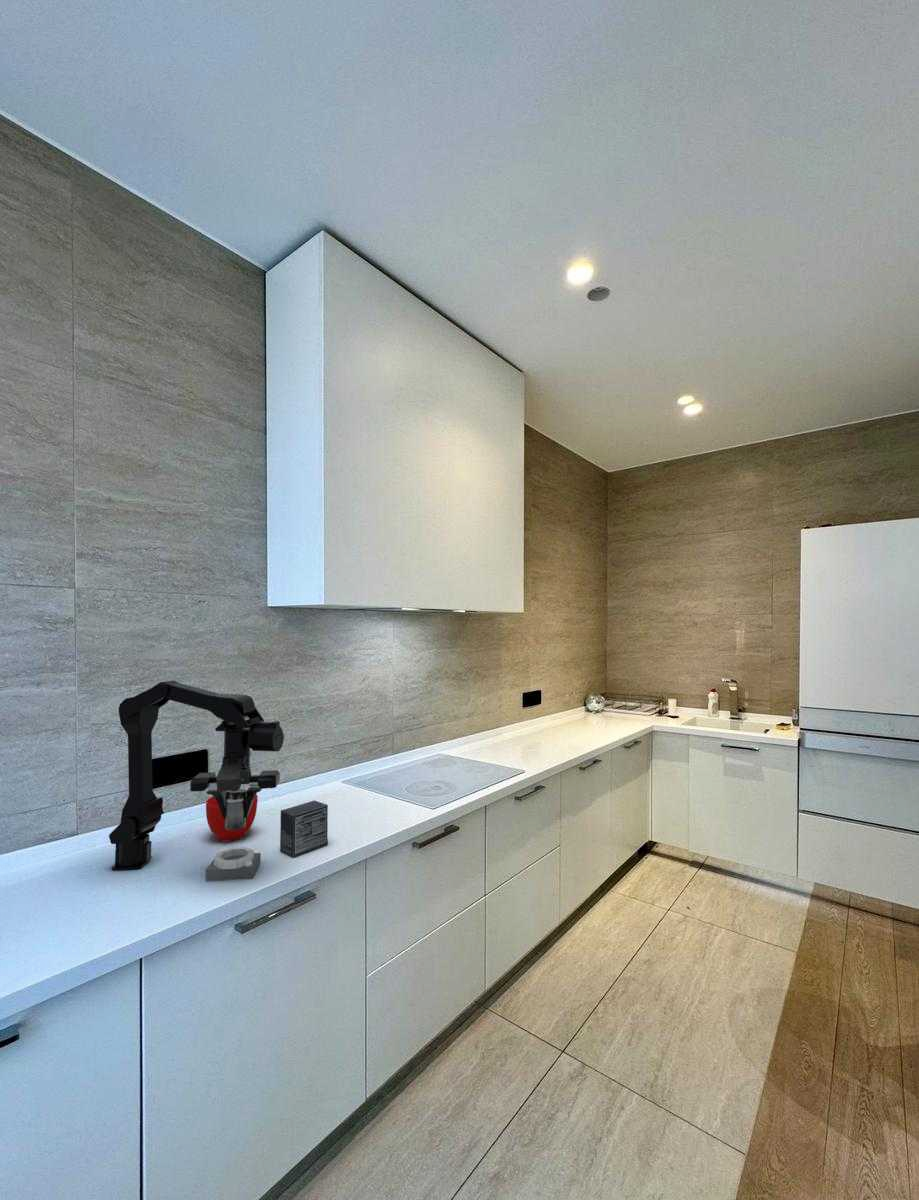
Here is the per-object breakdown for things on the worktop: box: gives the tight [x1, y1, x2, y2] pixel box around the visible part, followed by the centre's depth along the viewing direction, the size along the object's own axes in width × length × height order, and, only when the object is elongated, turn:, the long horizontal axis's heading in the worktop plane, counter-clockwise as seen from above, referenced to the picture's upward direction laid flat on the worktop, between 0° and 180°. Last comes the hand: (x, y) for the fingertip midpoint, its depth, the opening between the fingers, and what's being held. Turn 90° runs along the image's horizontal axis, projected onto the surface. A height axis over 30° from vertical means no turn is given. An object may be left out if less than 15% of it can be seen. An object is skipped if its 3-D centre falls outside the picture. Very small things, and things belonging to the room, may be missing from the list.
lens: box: [225, 788, 247, 830], centre depth 126 cm, size 5×5×8 cm
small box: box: [279, 800, 329, 859], centre depth 139 cm, size 11×6×10 cm, turn 141°
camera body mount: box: [205, 846, 262, 882], centre depth 125 cm, size 10×8×4 cm
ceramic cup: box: [205, 793, 259, 842], centre depth 148 cm, size 13×17×10 cm
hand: (235, 817), depth 126 cm, fingers closed on lens, 4 cm apart
